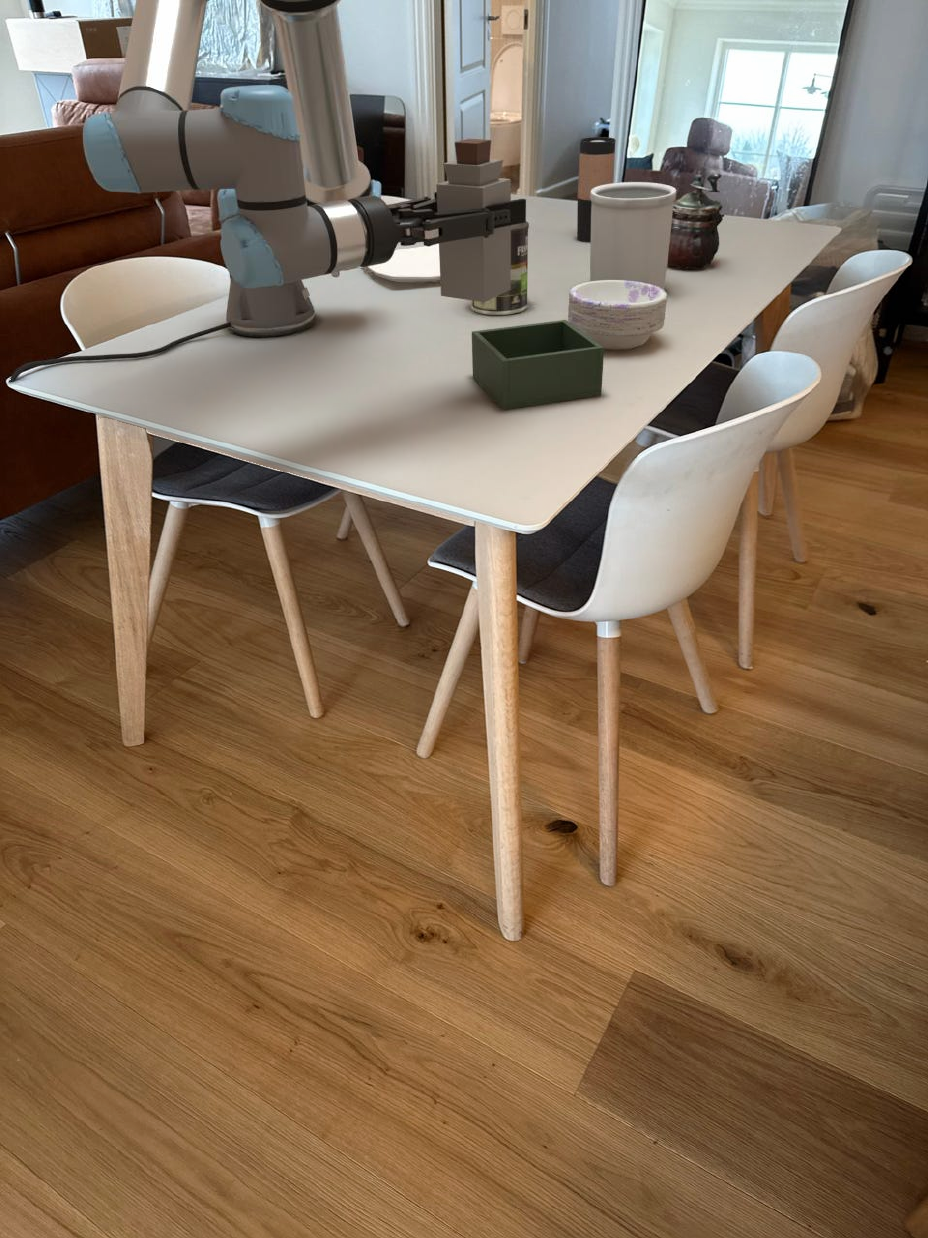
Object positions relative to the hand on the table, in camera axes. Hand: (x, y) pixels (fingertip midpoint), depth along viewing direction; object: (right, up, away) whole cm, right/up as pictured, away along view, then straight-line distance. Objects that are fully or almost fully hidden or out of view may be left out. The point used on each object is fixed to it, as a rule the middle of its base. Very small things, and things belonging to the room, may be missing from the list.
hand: (504, 206), depth 117 cm
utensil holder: (+25, +7, +51) cm, 58 cm away
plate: (-13, +18, +68) cm, 72 cm away
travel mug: (+24, +32, +87) cm, 96 cm away
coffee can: (+1, +3, +46) cm, 46 cm away
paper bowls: (+19, -9, +28) cm, 35 cm away
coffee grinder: (+41, +17, +65) cm, 78 cm away
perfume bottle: (-4, -10, +3) cm, 11 cm away
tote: (+5, -20, +13) cm, 24 cm away
